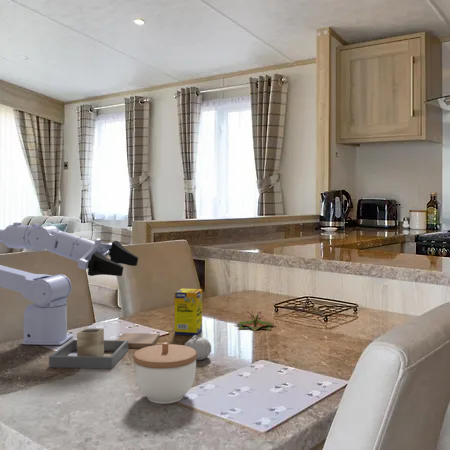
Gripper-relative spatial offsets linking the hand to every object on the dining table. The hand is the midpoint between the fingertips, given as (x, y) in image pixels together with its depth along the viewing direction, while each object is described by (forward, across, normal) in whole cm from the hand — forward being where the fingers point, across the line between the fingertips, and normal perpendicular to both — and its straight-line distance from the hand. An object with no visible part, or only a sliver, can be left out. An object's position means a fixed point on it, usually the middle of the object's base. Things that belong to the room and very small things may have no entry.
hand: (129, 266), depth 119 cm
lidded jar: (+23, -30, +7) cm, 39 cm away
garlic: (+22, -8, +12) cm, 27 cm away
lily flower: (+29, +23, +16) cm, 41 cm away
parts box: (+1, -14, +17) cm, 22 cm away
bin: (+1, -14, +17) cm, 22 cm away
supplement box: (+14, +12, +18) cm, 26 cm away
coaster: (+5, 0, +18) cm, 19 cm away
